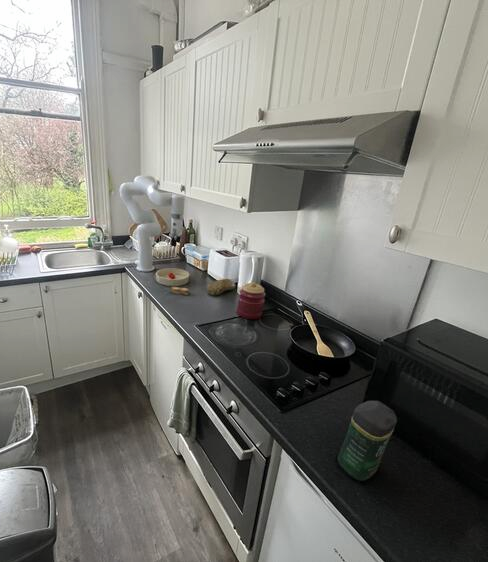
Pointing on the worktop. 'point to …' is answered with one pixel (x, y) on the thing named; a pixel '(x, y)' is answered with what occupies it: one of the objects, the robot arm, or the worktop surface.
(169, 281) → the bowl
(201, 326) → the worktop surface
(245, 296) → the kitchen canister
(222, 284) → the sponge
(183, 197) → the robot arm
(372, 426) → the coffee jar
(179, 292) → the stick
